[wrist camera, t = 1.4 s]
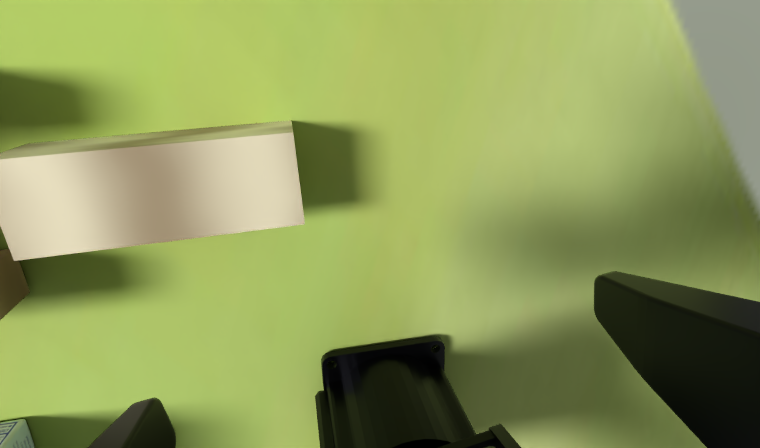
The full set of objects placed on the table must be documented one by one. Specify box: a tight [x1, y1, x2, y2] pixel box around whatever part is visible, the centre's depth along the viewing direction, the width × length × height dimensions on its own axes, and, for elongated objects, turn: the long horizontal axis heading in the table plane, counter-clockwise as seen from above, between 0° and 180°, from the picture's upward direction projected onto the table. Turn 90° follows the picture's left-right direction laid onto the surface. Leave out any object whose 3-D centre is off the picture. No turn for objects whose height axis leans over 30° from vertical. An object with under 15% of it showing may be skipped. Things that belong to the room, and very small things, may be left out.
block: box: [0, 120, 305, 261], centre depth 17 cm, size 10×4×4 cm, turn 94°
